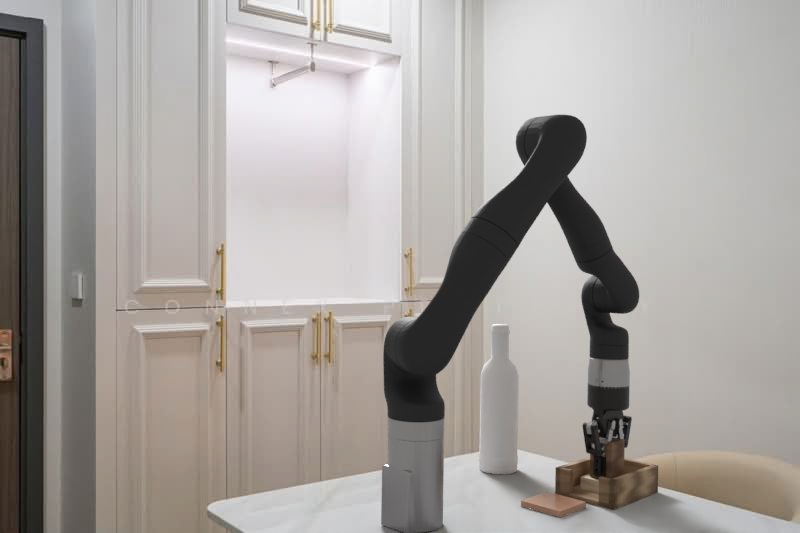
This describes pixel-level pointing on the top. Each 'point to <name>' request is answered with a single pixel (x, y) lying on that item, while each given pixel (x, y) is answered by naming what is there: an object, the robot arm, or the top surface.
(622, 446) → the walnut block
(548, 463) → the top surface
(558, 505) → the terracotta tile
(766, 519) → the top surface
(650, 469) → the oak box
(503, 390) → the bottle
